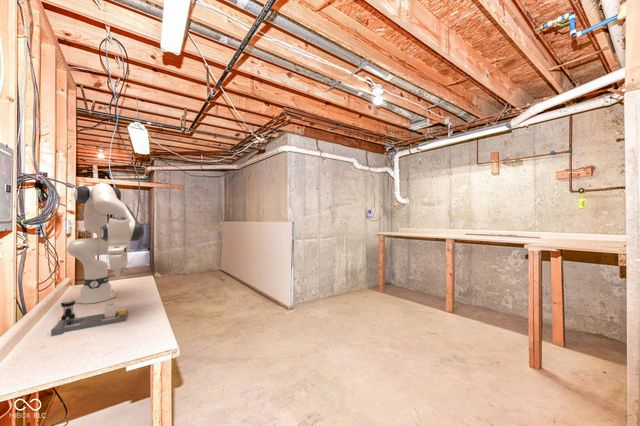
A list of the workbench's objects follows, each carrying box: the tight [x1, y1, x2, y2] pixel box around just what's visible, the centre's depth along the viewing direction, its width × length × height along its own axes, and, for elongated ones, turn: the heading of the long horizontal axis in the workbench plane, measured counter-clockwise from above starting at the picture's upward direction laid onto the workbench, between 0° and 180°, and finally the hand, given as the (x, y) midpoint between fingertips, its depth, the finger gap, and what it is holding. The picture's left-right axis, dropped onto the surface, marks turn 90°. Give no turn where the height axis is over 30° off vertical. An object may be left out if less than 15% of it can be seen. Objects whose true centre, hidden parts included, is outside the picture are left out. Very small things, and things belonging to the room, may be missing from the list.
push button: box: [57, 298, 77, 322], centre depth 130 cm, size 7×5×10 cm
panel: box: [50, 309, 129, 337], centre depth 124 cm, size 12×26×3 cm, turn 121°
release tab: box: [118, 308, 127, 315], centre depth 130 cm, size 2×2×4 cm
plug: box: [104, 302, 117, 319], centre depth 128 cm, size 4×4×9 cm
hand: (119, 276), depth 130 cm, fingers open, 8 cm apart
